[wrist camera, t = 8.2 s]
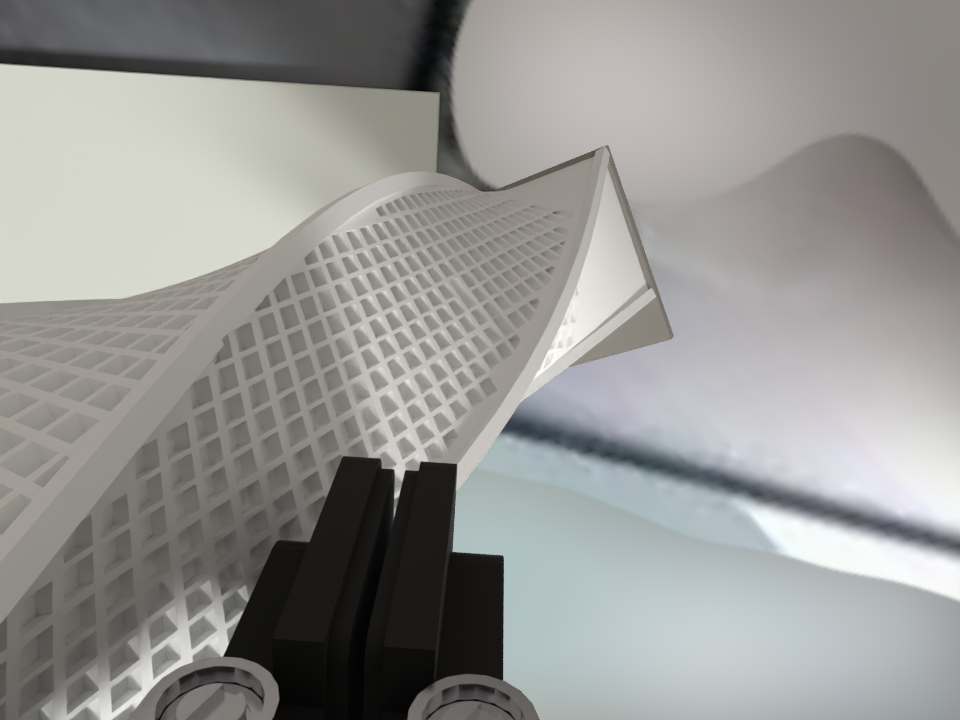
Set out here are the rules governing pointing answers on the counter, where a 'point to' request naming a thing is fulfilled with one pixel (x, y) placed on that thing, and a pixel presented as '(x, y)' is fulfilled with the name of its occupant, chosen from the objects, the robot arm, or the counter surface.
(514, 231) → the twisted tower model
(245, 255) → the mat
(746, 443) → the counter surface
